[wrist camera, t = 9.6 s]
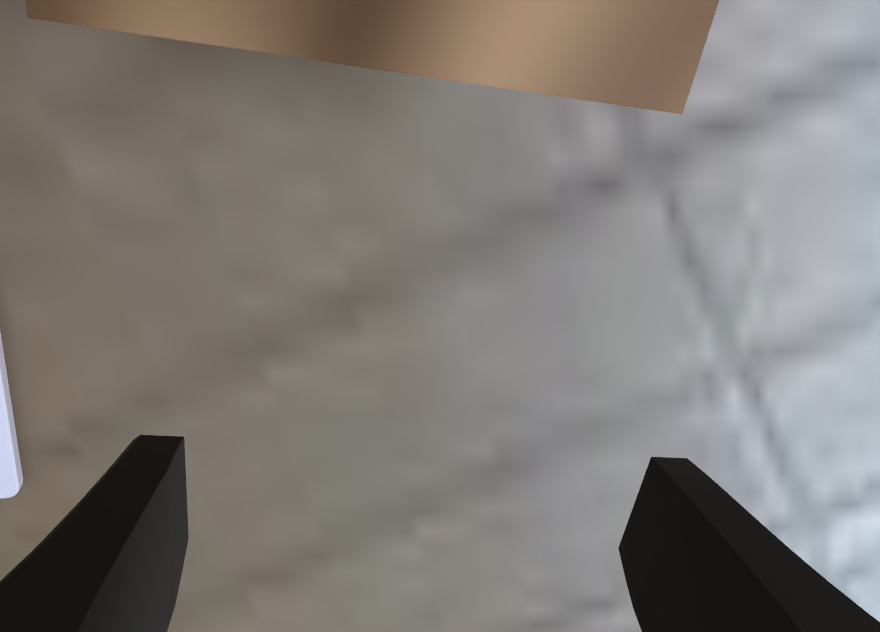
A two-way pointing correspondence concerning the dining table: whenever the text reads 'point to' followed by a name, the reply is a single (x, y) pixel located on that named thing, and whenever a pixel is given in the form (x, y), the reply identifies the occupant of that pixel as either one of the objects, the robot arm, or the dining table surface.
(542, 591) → the dining table surface
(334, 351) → the dining table surface
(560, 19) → the peg stand
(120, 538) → the robot arm
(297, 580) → the dining table surface
